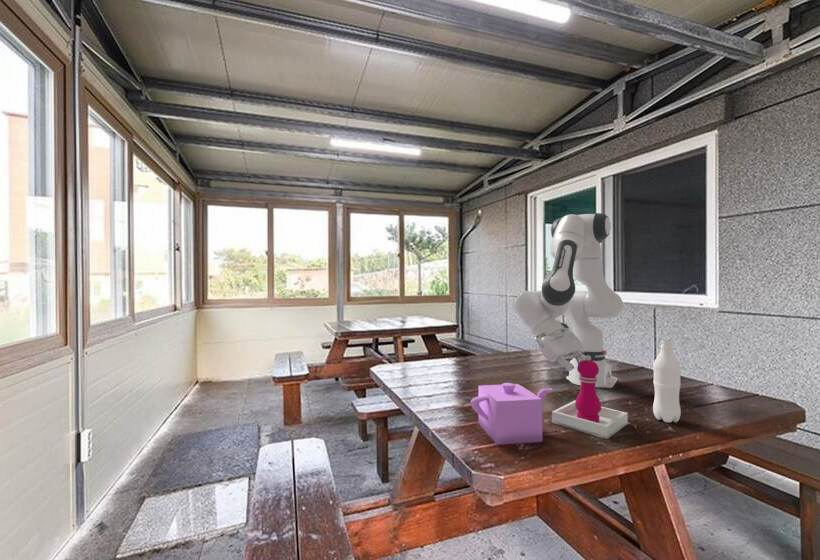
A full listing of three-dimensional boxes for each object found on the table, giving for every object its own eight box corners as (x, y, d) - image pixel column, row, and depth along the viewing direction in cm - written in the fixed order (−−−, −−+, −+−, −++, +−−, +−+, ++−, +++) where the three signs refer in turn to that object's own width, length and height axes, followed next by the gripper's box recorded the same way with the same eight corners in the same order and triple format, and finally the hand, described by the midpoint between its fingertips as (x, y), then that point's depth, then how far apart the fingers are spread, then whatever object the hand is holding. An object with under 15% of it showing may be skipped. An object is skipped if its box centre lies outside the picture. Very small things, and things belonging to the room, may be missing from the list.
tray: (575, 410, 127) (575, 400, 126) (627, 424, 115) (627, 412, 115) (551, 422, 116) (551, 411, 116) (606, 439, 104) (606, 426, 104)
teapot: (566, 440, 104) (566, 389, 104) (479, 446, 100) (479, 393, 100) (539, 419, 119) (539, 375, 119) (462, 424, 115) (463, 378, 115)
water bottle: (685, 425, 114) (685, 342, 114) (659, 423, 115) (659, 341, 115) (673, 416, 121) (674, 338, 121) (649, 415, 122) (649, 338, 122)
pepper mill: (602, 426, 111) (602, 358, 111) (575, 422, 114) (575, 356, 114) (600, 417, 118) (600, 353, 118) (574, 414, 121) (574, 352, 120)
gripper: (539, 329, 116) (570, 366, 109) (569, 323, 130) (598, 356, 123) (526, 342, 120) (555, 379, 112) (557, 335, 133) (585, 367, 126)
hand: (578, 367), depth 118 cm, fingers open, 8 cm apart
